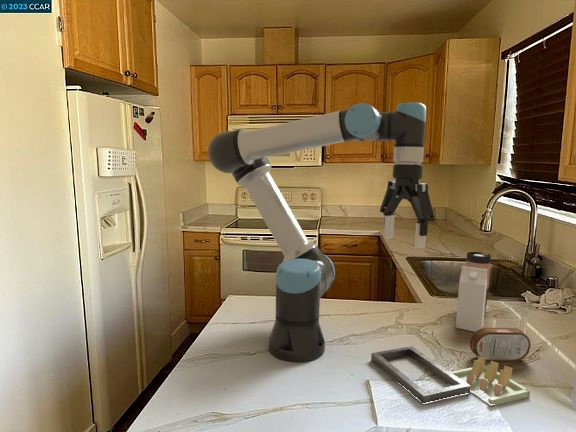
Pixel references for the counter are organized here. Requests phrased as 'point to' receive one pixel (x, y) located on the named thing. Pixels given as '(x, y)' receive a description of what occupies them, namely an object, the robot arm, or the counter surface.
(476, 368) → the ammunition
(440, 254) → the counter surface
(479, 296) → the milk carton
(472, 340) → the tin
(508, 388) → the tray pad
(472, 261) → the travel mug
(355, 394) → the counter surface
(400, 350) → the gray rectangular frame
